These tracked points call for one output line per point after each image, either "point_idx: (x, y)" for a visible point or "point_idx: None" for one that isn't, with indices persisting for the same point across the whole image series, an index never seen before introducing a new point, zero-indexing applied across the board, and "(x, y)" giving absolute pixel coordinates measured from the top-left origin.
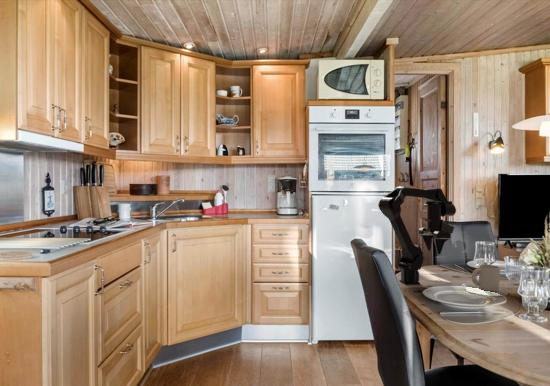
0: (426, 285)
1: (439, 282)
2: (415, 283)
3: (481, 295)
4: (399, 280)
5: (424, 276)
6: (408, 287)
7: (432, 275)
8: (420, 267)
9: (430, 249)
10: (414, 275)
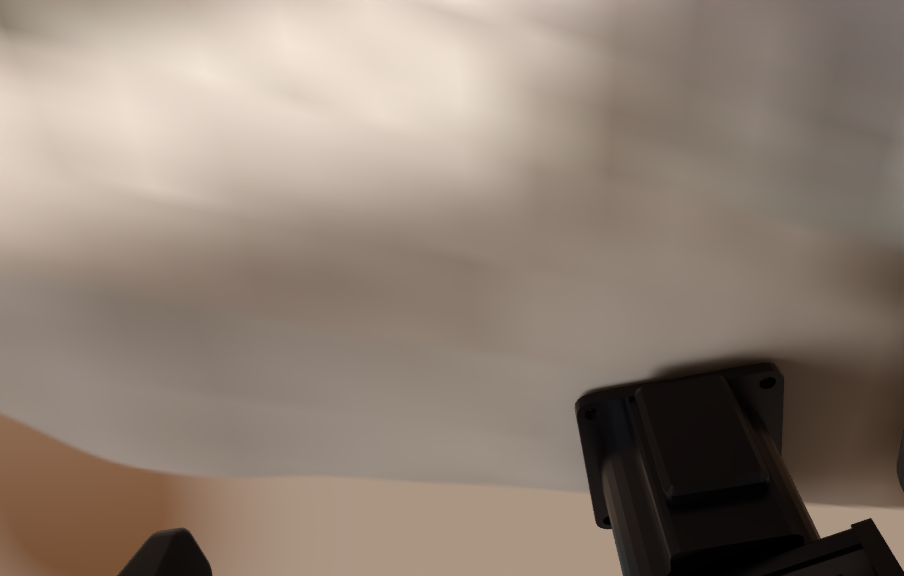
0: (855, 302)
1: (707, 82)
2: (779, 411)
3: None
4: (610, 525)
5: (255, 204)
6: (894, 480)
7: (128, 50)
8: (885, 545)
9: (174, 560)
10: (799, 497)
